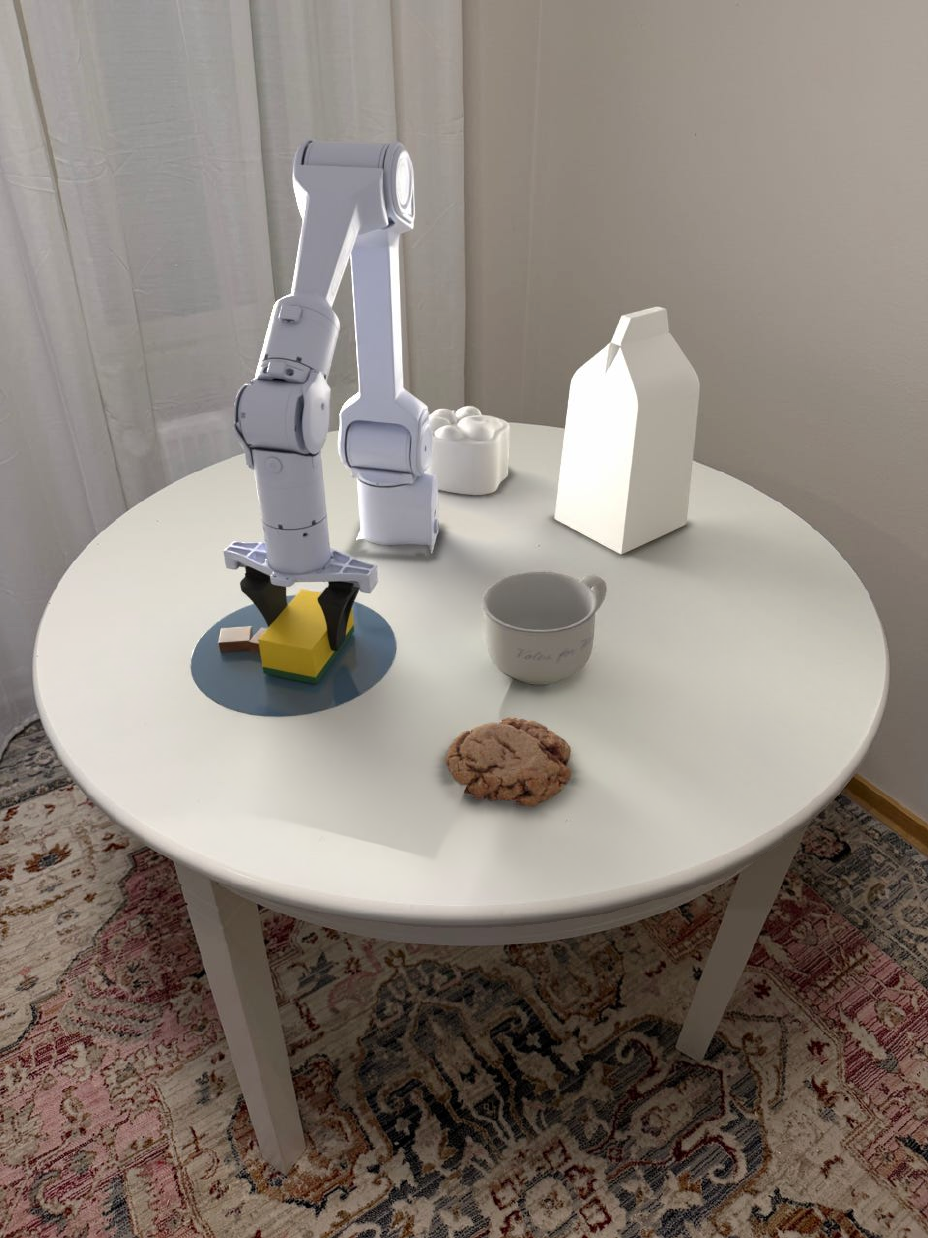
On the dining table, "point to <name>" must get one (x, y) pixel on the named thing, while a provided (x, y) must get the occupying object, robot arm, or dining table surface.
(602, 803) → the dining table surface
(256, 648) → the block
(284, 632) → the sponge
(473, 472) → the lumpy-topped squat cylinder
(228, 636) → the block
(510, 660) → the teacup
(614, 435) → the milk
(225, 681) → the plate
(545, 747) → the cookie
